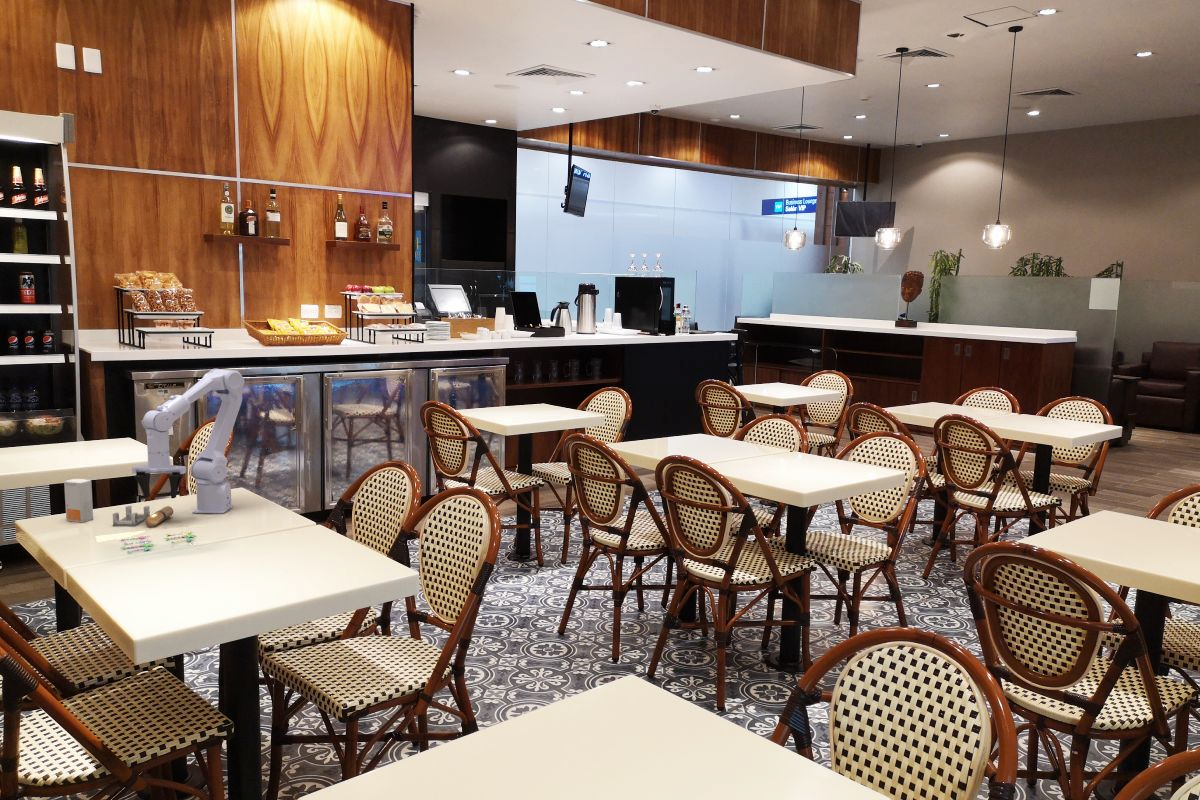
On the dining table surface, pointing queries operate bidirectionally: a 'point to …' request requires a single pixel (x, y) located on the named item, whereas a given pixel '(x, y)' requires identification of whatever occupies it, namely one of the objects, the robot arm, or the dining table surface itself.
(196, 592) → the dining table surface
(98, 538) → the clear flat square panel
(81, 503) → the skincare box
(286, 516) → the dining table surface
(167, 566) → the dining table surface
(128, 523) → the cradle
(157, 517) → the tube
